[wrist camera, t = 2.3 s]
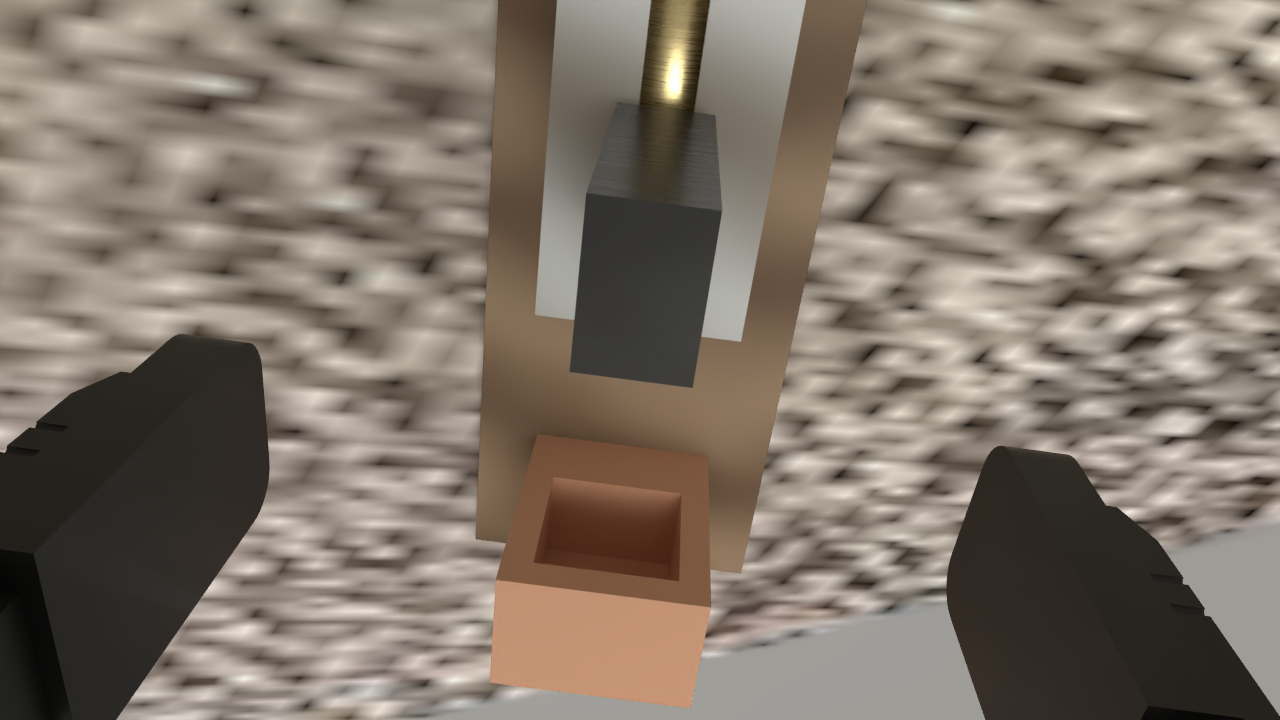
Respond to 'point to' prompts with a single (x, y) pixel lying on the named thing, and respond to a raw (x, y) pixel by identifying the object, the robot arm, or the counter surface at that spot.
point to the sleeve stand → (745, 253)
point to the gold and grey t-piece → (652, 218)
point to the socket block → (605, 573)
